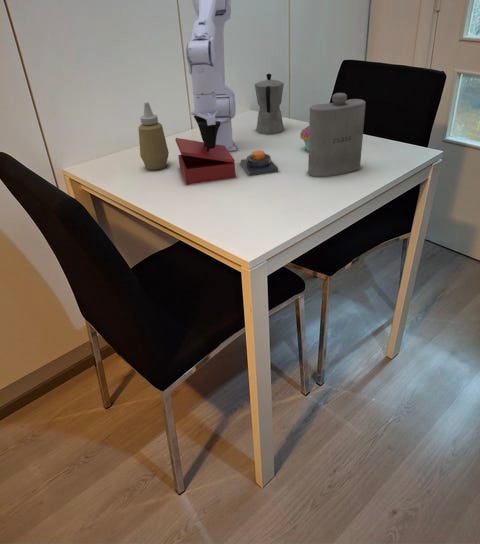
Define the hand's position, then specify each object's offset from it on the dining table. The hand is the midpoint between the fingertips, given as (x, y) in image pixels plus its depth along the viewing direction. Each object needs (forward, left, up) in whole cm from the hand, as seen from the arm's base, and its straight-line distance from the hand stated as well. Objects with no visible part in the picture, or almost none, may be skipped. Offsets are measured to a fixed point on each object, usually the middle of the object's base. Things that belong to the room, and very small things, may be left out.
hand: (209, 144), depth 130 cm
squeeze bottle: (-10, -14, -8) cm, 19 cm away
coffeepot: (-29, +26, -8) cm, 40 cm away
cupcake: (-6, +33, -8) cm, 34 cm away
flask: (+12, +32, -8) cm, 35 cm away
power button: (+1, +13, -5) cm, 14 cm away
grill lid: (0, -1, -2) cm, 2 cm away
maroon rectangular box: (0, -1, -8) cm, 8 cm away
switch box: (+2, +13, -8) cm, 15 cm away
